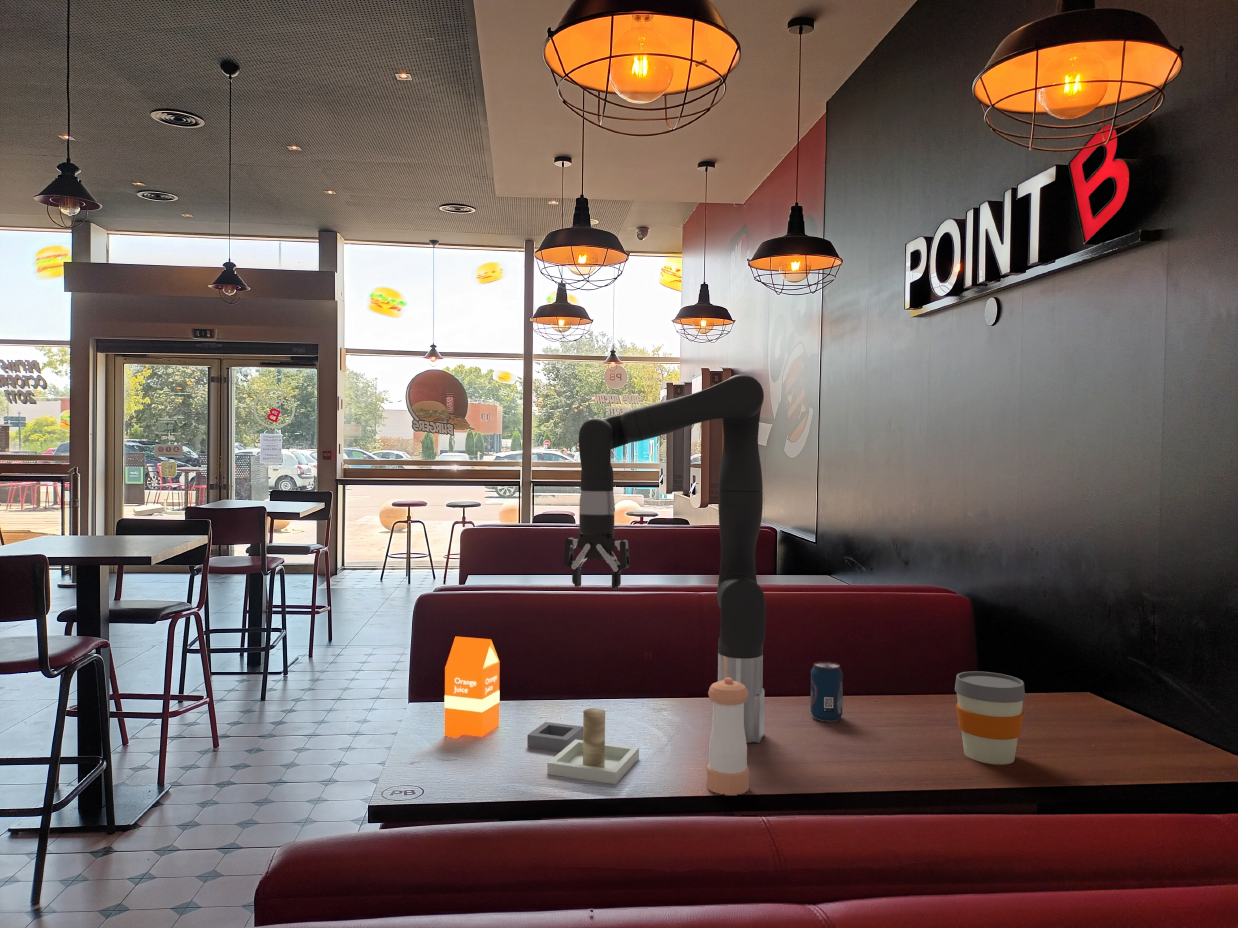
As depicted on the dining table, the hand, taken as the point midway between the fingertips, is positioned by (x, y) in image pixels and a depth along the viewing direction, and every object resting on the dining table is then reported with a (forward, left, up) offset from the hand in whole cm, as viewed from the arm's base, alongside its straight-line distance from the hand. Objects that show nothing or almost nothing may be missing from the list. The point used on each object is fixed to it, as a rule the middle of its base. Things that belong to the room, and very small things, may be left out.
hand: (596, 587), depth 170 cm
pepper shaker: (-33, +21, -30) cm, 49 cm away
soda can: (-46, -25, -30) cm, 60 cm away
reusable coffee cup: (-78, -12, -30) cm, 85 cm away
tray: (-8, +22, -30) cm, 39 cm away
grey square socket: (+3, +14, -30) cm, 33 cm away
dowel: (-8, +22, -29) cm, 38 cm away
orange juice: (+23, +12, -30) cm, 40 cm away
